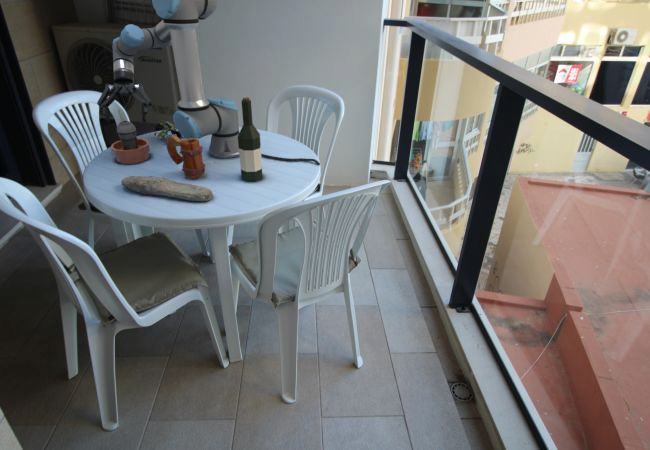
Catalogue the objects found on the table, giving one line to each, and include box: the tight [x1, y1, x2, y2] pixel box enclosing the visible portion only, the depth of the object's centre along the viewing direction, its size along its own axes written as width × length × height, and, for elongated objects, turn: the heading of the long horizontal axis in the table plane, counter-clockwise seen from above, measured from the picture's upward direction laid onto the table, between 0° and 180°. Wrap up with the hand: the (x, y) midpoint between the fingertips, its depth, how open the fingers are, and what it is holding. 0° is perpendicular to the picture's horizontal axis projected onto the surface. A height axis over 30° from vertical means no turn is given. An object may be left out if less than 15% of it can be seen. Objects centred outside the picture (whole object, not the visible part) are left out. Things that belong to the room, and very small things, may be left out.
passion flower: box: [153, 119, 184, 142], centre depth 179 cm, size 11×11×12 cm
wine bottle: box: [238, 97, 263, 183], centre depth 143 cm, size 8×8×30 cm
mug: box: [166, 134, 206, 180], centre depth 147 cm, size 15×8×15 cm, turn 71°
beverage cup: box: [116, 109, 138, 150], centre depth 158 cm, size 7×7×20 cm
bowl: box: [110, 137, 151, 165], centre depth 162 cm, size 14×14×6 cm
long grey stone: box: [120, 175, 214, 202], centre depth 137 cm, size 35×5×10 cm
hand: (126, 121), depth 158 cm, fingers open, 13 cm apart
